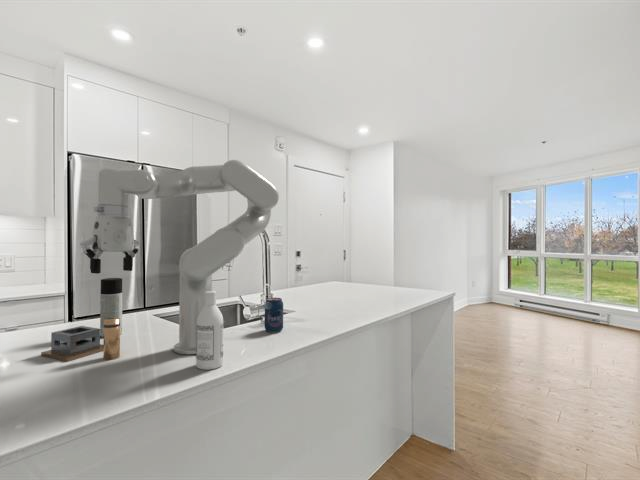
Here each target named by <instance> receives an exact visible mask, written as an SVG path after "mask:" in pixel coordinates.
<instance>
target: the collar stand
mask: <svg viewBox="0 0 640 480" xmlns="http://www.w3.org/2000/svg"><path fill="white" fill-rule="evenodd" d="M50 336H51V337H50V338H51V339H50V340H51V341H50V345H51V346H50V347H51V348H50V349H49V350H46V351H45V350H44V351H41V352H40V357H45V358H50V359H53V360H58V361H59V360H60V361H63V362H72V361H75V360H78V359H80V358H85V357H87V356H90V355H94V354H96V353H97V354H98V353H101V352H104V344H101V336H100V328H97V327H91V326H84V325H81V326H79V325H78V326H76V327H71V328H67V329H62V330H58V331H53V332H51V335H50Z"/></svg>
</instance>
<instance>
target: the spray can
mask: <svg viewBox="0 0 640 480" xmlns="http://www.w3.org/2000/svg"><path fill="white" fill-rule="evenodd" d="M99 294H100V296H99V297H100V303H99V305H100V309H99V310H100V312H99V315H100V317H99V318H100V319H99V320H100V324H99V325H100V326H99V329H100V338H101V337H102V338H104V327H103V326H104V320H105V319H108V318H120V335H122V333H123V278H120V277H108V278H107V277H106V278H102V279H100V293H99Z"/></svg>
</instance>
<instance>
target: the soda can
mask: <svg viewBox="0 0 640 480" xmlns="http://www.w3.org/2000/svg"><path fill="white" fill-rule="evenodd" d="M265 300H266V301H265V302H264V330H265V331H266V332H267V333H271V334H275V333H280V332H282V331H283V328H284V302H283V299H282V298H281V297H268V298H266V299H265Z"/></svg>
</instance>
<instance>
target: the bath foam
mask: <svg viewBox="0 0 640 480" xmlns="http://www.w3.org/2000/svg"><path fill="white" fill-rule="evenodd" d="M195 363H196V364H195V365H196V367H197V368H198V369H199V370H203V371H204V370H205V371H208V370H215V369H218V368H220V367H221V366H223V364H224V316H223V313H222V312H221V310H220V308H219V307H218V306H217V292H216V291H215V290H212V291H206V292H205V305H204V307H203V308H202V310H201V312H200V313H199V315H198V318H197V324H196V354H195Z"/></svg>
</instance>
